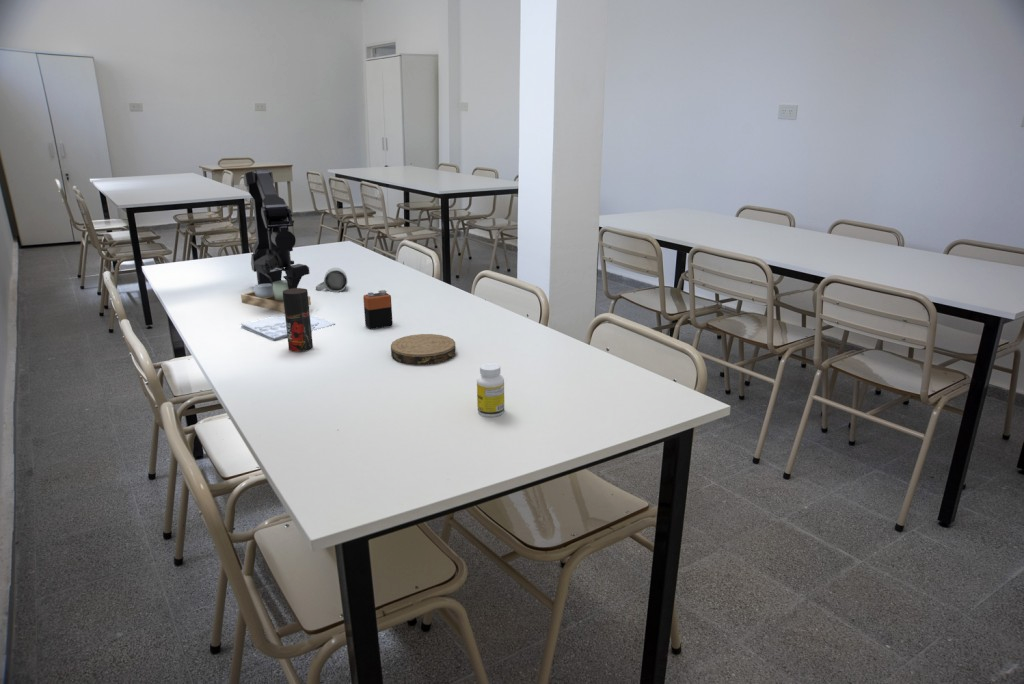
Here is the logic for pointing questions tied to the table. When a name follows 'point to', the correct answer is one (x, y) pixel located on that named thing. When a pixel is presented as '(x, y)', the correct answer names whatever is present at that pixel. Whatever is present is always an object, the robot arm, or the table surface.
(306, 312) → the deodorant
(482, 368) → the supplement bottle
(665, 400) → the table surface
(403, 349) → the wood slice coaster
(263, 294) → the pale blue rounded cylinder
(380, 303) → the battery
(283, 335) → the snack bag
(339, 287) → the ceramic mug
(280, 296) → the sage green cylinder
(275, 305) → the divided wooden tray
